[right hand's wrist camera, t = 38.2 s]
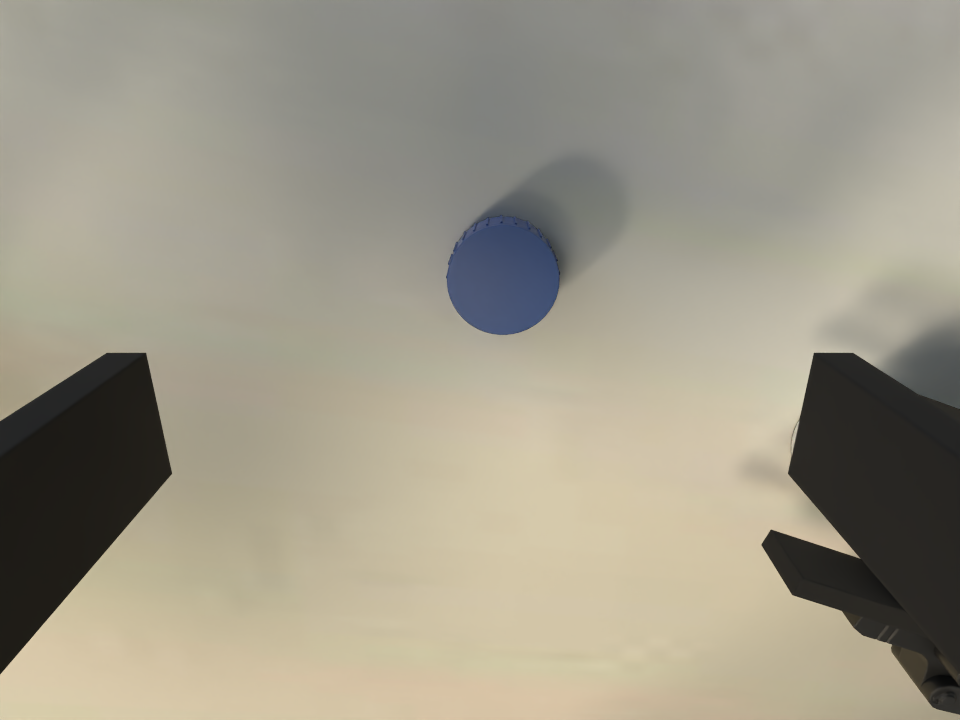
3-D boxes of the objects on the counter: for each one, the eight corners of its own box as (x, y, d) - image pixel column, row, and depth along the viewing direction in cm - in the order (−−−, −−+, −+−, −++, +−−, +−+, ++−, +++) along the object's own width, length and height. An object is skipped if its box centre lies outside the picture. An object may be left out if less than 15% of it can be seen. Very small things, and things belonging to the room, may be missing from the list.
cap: (497, 339, 27) (497, 357, 25) (427, 264, 26) (421, 276, 23) (577, 273, 26) (584, 286, 23) (507, 191, 24) (508, 198, 22)
